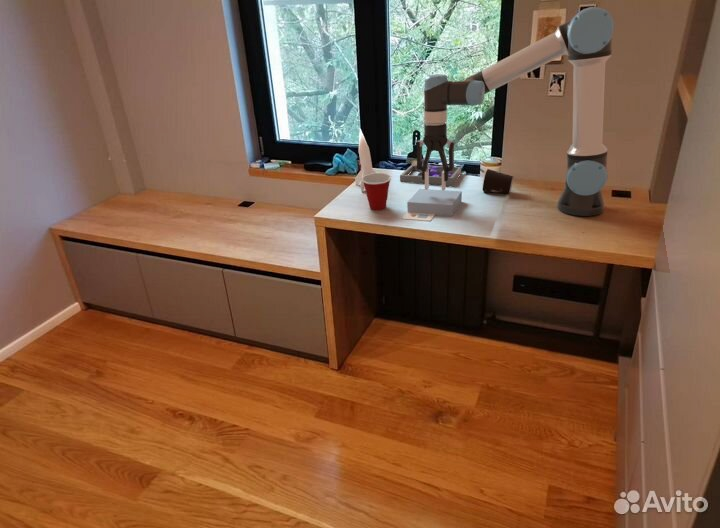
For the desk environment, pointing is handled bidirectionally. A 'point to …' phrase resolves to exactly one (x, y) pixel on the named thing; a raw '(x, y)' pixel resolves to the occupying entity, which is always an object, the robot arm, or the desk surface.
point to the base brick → (435, 202)
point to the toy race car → (433, 171)
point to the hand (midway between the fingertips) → (435, 189)
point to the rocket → (364, 161)
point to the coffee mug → (497, 182)
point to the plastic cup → (377, 189)
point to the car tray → (432, 179)
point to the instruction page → (418, 216)
